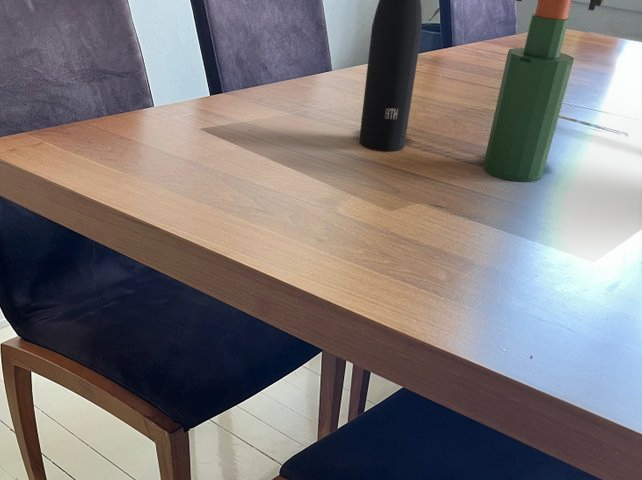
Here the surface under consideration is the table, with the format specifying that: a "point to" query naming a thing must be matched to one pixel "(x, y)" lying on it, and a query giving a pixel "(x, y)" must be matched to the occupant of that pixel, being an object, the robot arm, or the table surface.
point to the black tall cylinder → (390, 74)
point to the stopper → (553, 9)
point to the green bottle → (529, 103)
